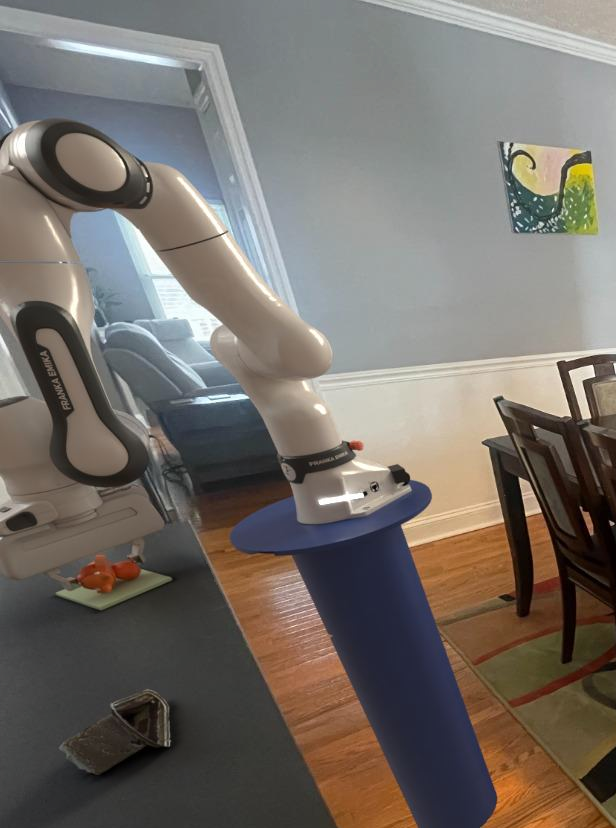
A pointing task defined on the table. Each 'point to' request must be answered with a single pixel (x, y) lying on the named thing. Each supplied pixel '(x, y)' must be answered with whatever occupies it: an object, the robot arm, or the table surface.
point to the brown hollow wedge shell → (121, 733)
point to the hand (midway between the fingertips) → (107, 575)
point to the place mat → (116, 590)
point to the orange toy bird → (106, 574)
